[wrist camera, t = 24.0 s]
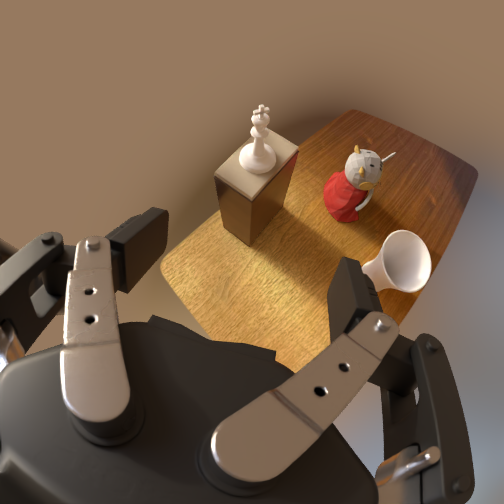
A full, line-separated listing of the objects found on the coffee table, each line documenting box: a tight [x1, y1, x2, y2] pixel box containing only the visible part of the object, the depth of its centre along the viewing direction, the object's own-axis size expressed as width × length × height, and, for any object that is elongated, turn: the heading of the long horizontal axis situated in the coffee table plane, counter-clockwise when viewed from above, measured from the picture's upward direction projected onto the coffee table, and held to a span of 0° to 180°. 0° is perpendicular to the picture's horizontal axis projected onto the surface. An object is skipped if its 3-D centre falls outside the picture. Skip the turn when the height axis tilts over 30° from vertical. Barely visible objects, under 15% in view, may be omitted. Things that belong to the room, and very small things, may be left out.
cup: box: [362, 230, 431, 293], centre depth 45 cm, size 10×10×14 cm
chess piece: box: [239, 105, 276, 174], centre depth 30 cm, size 5×5×10 cm
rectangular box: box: [214, 128, 299, 246], centre depth 45 cm, size 11×6×20 cm, turn 142°
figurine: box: [324, 145, 396, 222], centre depth 49 cm, size 13×12×15 cm
